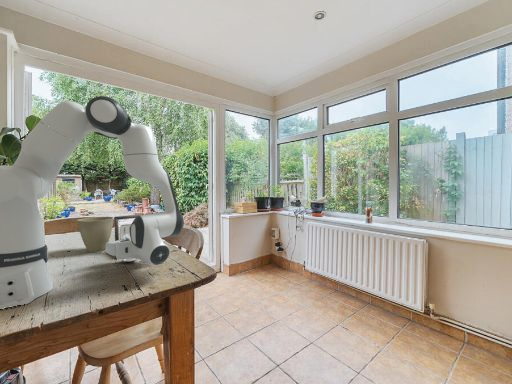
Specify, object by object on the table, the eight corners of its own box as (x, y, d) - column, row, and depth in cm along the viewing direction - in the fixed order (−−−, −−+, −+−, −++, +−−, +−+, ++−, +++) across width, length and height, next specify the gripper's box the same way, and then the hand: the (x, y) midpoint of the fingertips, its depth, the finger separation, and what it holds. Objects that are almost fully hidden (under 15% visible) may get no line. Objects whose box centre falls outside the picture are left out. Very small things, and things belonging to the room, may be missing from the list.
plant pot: (121, 246, 121) (120, 216, 120) (97, 255, 107) (96, 221, 106) (96, 245, 124) (96, 216, 123) (70, 253, 109) (69, 220, 108)
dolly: (121, 258, 103) (120, 220, 102) (112, 252, 112) (111, 217, 111) (156, 250, 115) (156, 216, 114) (145, 245, 124) (145, 213, 123)
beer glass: (141, 258, 100) (141, 224, 99) (125, 263, 94) (125, 227, 93) (132, 256, 103) (132, 223, 103) (116, 260, 98) (116, 225, 97)
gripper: (167, 234, 97) (152, 229, 107) (112, 243, 82) (101, 236, 91) (167, 249, 98) (152, 243, 107) (112, 260, 82) (101, 252, 92)
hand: (128, 240), depth 99 cm, fingers closed on beer glass, 7 cm apart
